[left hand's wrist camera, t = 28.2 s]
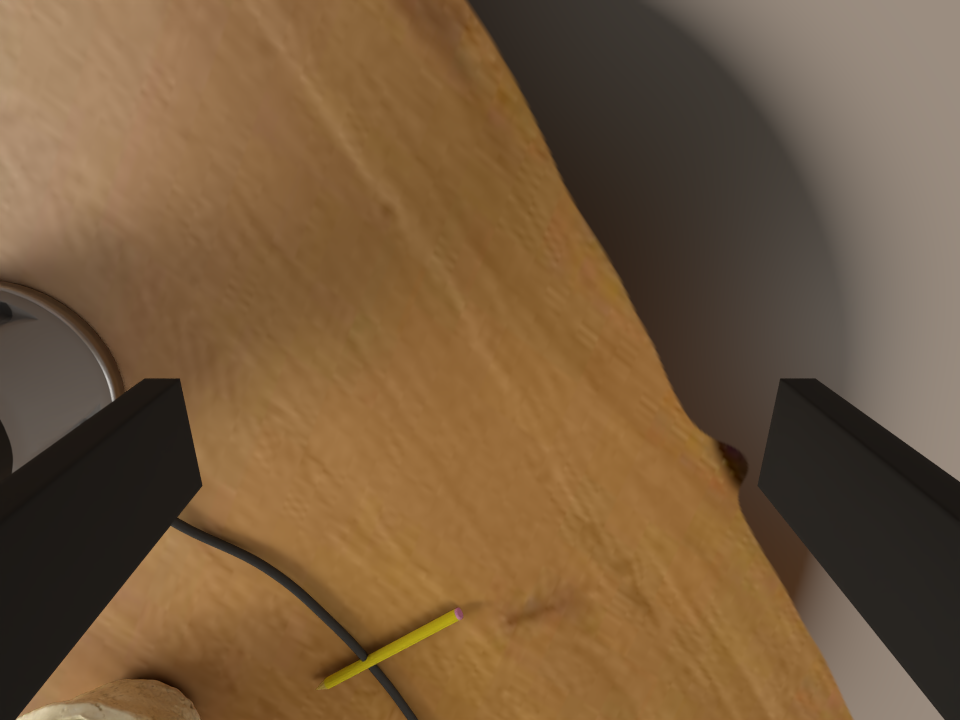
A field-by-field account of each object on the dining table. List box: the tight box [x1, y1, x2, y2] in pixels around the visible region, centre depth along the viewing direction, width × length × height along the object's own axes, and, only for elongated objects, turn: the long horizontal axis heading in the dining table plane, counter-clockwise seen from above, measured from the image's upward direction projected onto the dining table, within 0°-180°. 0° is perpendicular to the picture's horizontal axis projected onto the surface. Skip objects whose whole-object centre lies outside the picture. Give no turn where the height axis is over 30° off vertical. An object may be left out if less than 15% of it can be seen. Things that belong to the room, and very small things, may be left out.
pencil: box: [316, 608, 463, 690], centre depth 51 cm, size 16×1×1 cm, turn 124°
